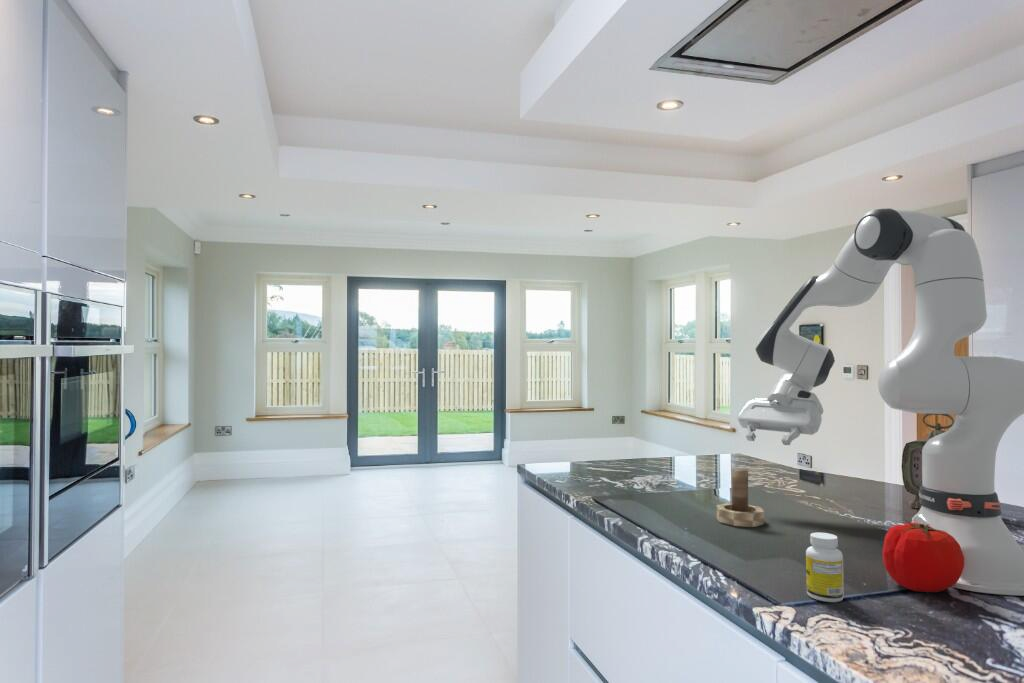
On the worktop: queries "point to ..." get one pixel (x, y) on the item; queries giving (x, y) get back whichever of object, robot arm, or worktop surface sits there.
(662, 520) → the worktop surface
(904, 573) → the tomato
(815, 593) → the supplement bottle
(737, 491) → the brown wooden cylinder
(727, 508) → the wooden octagonal ring
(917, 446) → the tabletop clock
